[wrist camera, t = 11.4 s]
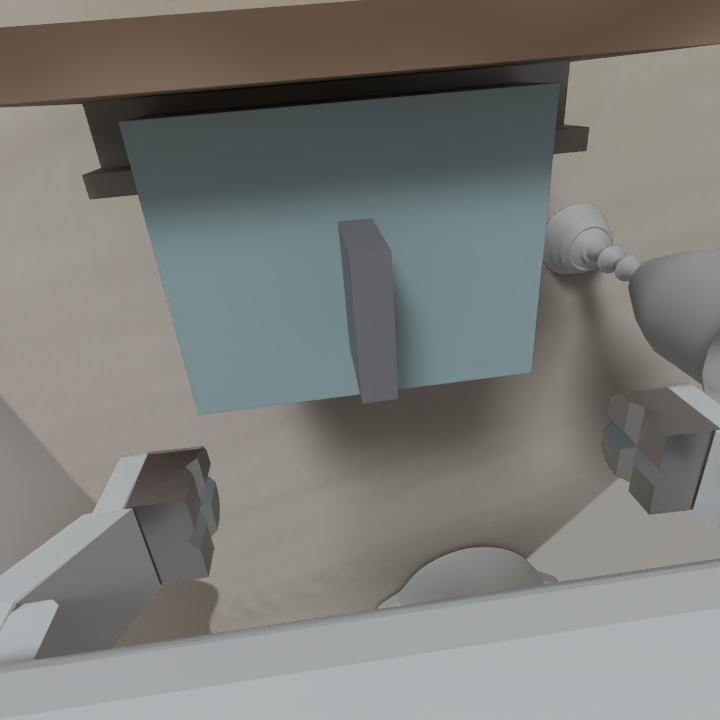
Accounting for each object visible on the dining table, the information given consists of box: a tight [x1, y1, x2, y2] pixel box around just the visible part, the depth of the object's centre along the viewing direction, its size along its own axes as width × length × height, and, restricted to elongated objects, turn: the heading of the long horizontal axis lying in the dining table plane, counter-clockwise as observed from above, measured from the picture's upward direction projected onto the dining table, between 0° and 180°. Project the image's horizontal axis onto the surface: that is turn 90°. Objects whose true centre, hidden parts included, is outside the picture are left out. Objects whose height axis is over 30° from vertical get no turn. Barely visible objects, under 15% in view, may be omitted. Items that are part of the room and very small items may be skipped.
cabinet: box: [118, 82, 560, 415], centre depth 22 cm, size 11×14×15 cm
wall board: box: [0, 0, 720, 199], centre depth 22 cm, size 6×20×20 cm, turn 95°
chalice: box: [542, 204, 720, 404], centre depth 29 cm, size 7×7×18 cm
